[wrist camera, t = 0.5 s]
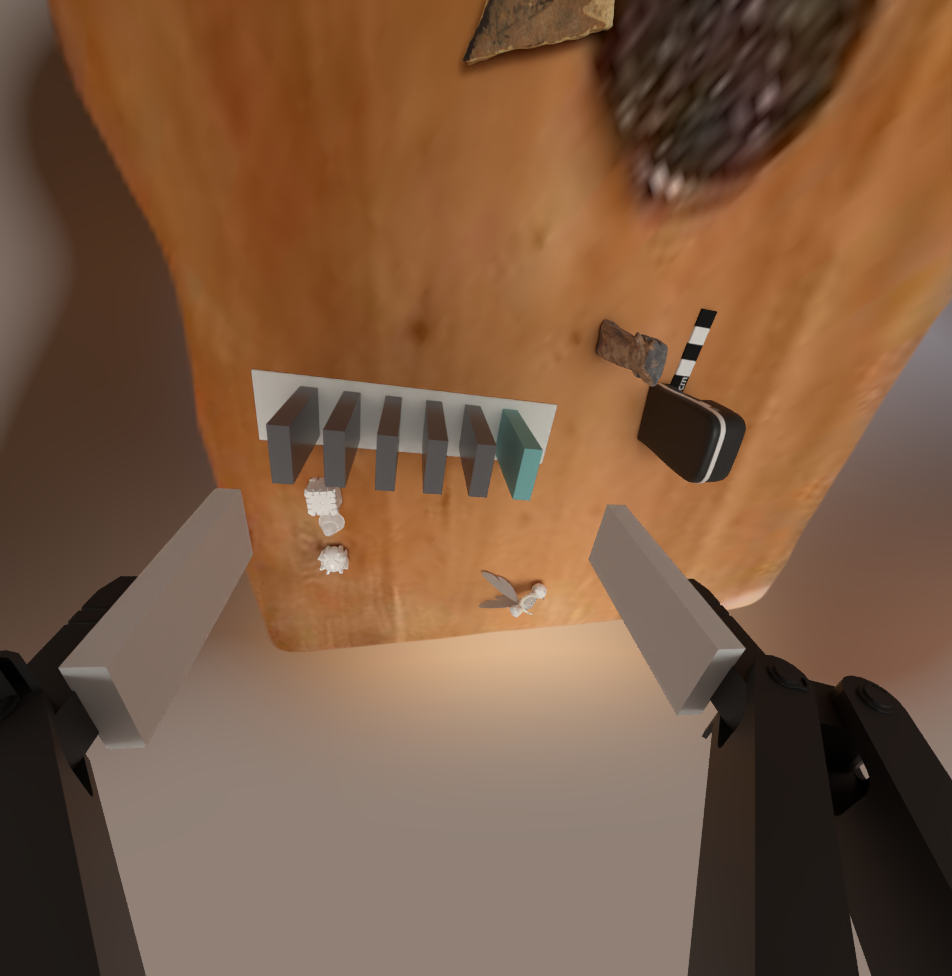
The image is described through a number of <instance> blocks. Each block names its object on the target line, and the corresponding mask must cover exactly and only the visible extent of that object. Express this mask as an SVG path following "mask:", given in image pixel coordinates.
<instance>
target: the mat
mask: <svg viewBox="0 0 952 976" xmlns="http://www.w3.org/2000/svg"><path fill="white" fill-rule="evenodd" d="M251 373H252V381H253V389H254V398H255V406H256V414H257V422H258V431H259V439H260V440H267V431H266V424H267V422H268V421H269V420H270V419H271V418H272V417H273V416H274V415H275V413H276V412H277V411H278V410H279V409H280V408H281V407H282V406H283V405H284V403H285V402H286V401H287V400H288V399H289V398H290V397H291V396H292V394H293V393H294V392H295V391H296V390H297V389H298V388H299V387H300V386H306V387H315V388H318V405H319V429H320V436H319V438H318V440H317V442H316V444H317V445H323V428H324V426H325V425H326V423H327V421H328V419H329V417H330V415H331V413H332V412H333V410H334V408H335V406H336V404H337V402H338V401H339V399H340V397H341V395H342V393H343V391H351V392H360V393H361V416H360V442H359V445H358V448H363V449H375V450H376V446H377V432H378V428H379V423H380V419H381V414H382V410H383V406H384V401H385V397H386V395H387V396H396V397H402V407H401V423H400V438H399V450H398V452H410V453H421V454H422V439H423V429H424V418H425V408H426V400H431V401H440V402H442V405H443V411H444V417H445V423H446V429H447V435H448V449H447V456H456V457H460V452H459V443H460V437H461V430H462V423H463V416H464V409H465V404H467V405H476V406H481V409H482V411H483V413H484V416H485V418H486V421H487V423H488V426H489V428H490V430H491V433H492V435H493V438H494V440H495V443H496V441H497V436H498V431H499V425H500V420H501V415H502V410H503V409H512V410H518V412H519V413H520V415H521V416H522V418H523V420H524V421H525V423H526V424H527V426H528V427H529V429H530V431H531V432H532V434H533V435H534V437H535V438H536V440H537V442H538V443H539V445H540V446H541V448H542V449H543V452H542V456H541V460H540V464H542V462H543V458H544V454H545V450H546V446H547V443H548V439H549V435H550V431H551V427H552V424H553V420H554V416H555V412H556V408H557V404H548V403H540V402H531V401H523V400H514V399H506V398H497V397H488V396H480V395H471V394H463V393H454V392H446V391H437V390H428V389H420V388H411V387H403V386H394V385H385V384H377V383H368V382H360V381H351V380H343V379H334V378H325V377H317V376H308V375H300V374H291V373H283V372H274V371H265V370H257V369H252V370H251ZM494 460H497V457H496V455H495V458H494Z"/></svg>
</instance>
